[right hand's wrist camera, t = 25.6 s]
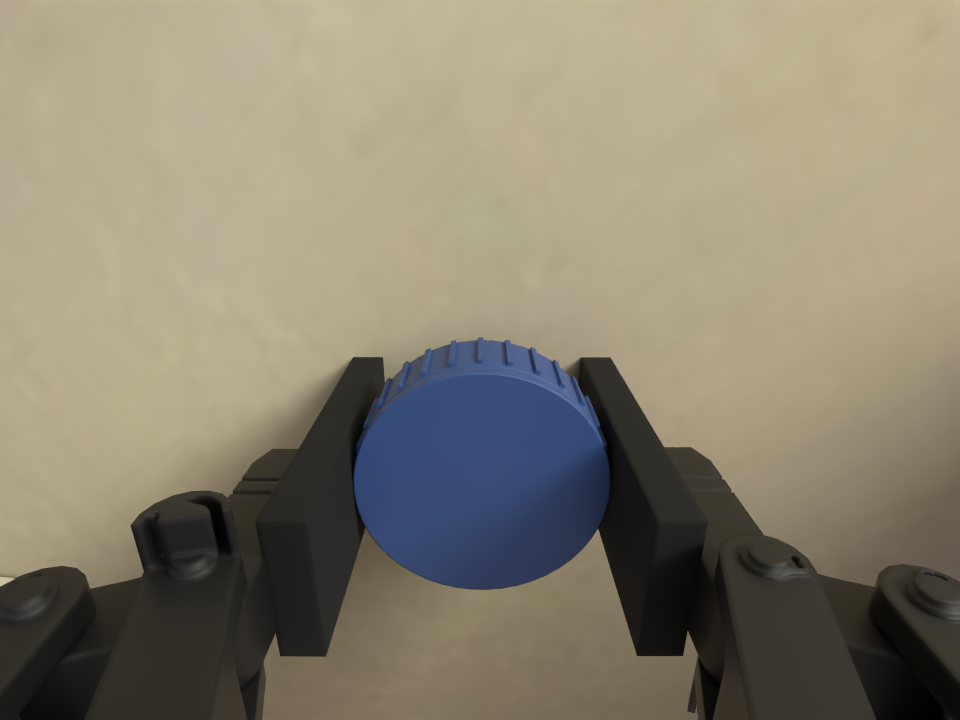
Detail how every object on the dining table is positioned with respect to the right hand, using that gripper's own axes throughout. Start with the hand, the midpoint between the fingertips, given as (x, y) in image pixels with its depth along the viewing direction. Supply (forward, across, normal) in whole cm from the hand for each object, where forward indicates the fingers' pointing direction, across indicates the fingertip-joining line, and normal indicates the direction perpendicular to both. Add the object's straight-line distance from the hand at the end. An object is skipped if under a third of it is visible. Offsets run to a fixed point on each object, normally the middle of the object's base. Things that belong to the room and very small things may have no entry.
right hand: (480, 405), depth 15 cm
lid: (-4, 0, 0) cm, 4 cm away
